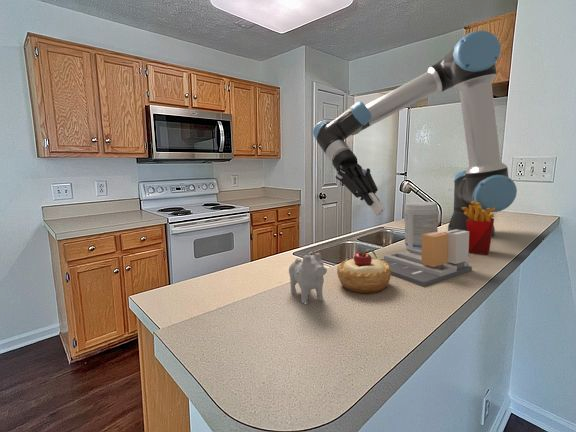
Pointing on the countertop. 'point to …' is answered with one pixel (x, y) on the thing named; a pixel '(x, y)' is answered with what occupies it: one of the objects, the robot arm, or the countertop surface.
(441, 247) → the fader knob
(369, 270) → the pastry
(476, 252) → the french fries
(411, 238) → the supplement tub
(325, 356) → the countertop surface
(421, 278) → the console board
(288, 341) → the countertop surface
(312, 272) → the dog figurine
